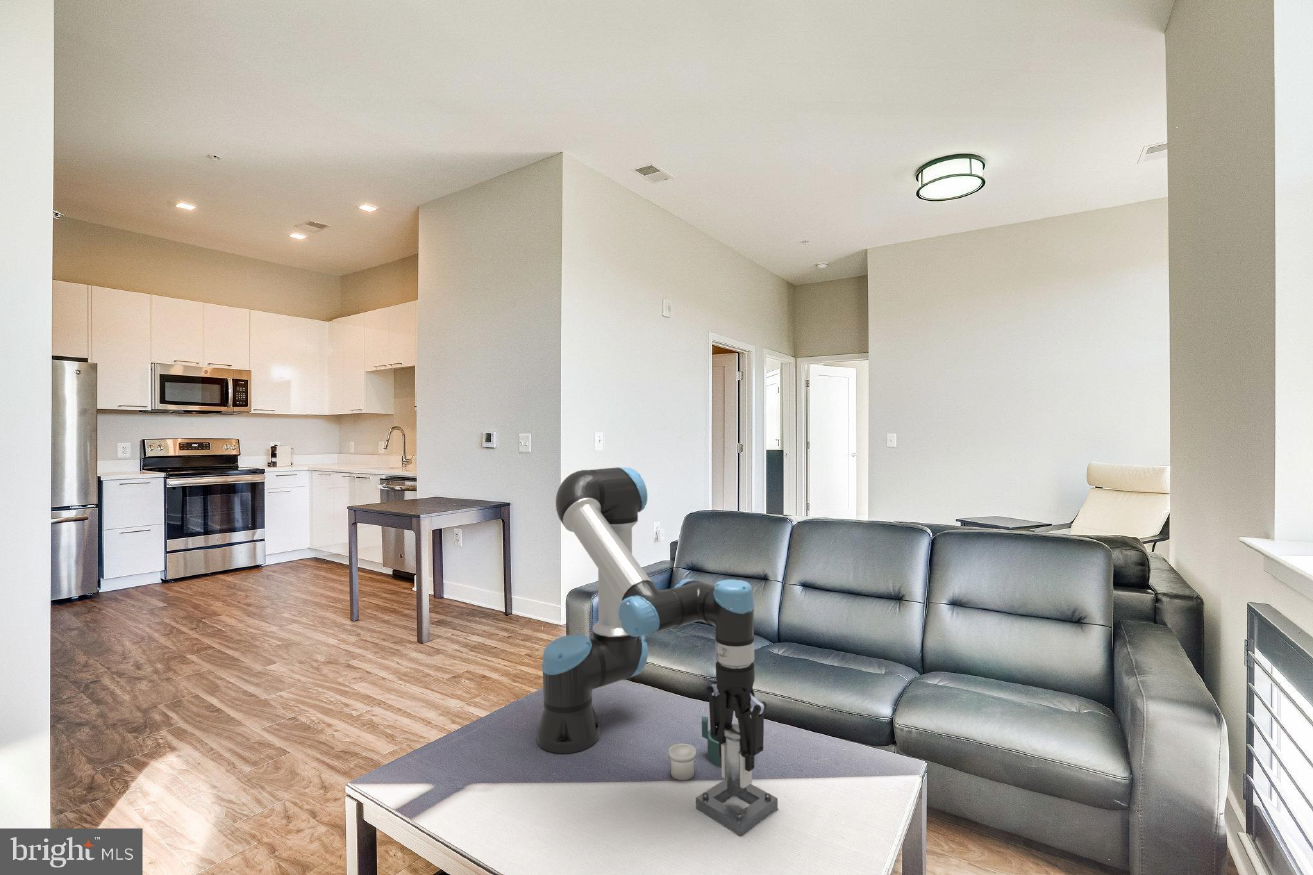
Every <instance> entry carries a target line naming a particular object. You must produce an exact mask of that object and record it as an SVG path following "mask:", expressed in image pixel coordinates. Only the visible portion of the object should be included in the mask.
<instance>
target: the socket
mask: <svg viewBox="0 0 1313 875" xmlns="http://www.w3.org/2000/svg"><path fill="white" fill-rule="evenodd" d="M732 797H734V796H733V795H730V794H729V793H728V792H727V785H726V778H724V779H723V780H722V781H720V782H719V783H717V784H715V785H713V786H712V787H711V788H708V789H707V790H706V791H704V792H702V793H701V794H699V795H697V796H695V808H696V810H698V811H700V812H701V813H703V814H704V815H706V816H707V817H709V818H711V819H712V820H714V821H715V822H717V823H719V824H720V825H722V826H723V827H725V828H727V829H728V830H730V831H731V832H733V833H734V834H736V835H738V836H739V837H742V836H743V835H744V834H747V833H748V832H749V831H750V830H752V829H753V828H755V826H757V825H758V824H760V823H761V822H762V821H764V820H765V819H767V817H770V815H772V814H773V813H774V812H776V811H777V810H778V808H779V806H778V805H779V804H778V803H779V802H778V801H779V800H778V797H776V796H774V795H773V794H771V793H769V792H767V791H765V790H763V789H761V788H760V787H758V786H756V785H755V784H753V783H751V784H750V785H748V786H747V793H746V794H745V795H743V796H737V797H738V798H741V799H742V800H744V801H746V802H747V803H749V805H748V806H746V807H745V808H744V809H742V810H740V811H736V810H735V809H733V808H732V807H730V806H728V805H727V804H725V803H724V802H725V801H727V800H729V799H730V798H732Z"/></svg>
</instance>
